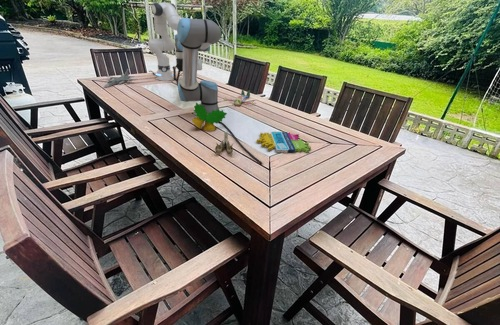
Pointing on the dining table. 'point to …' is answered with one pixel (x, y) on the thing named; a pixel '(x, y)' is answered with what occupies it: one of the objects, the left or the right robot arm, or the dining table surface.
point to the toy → (241, 99)
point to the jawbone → (224, 145)
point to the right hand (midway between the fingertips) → (183, 90)
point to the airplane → (119, 79)
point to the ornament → (207, 117)
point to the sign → (283, 142)
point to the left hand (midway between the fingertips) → (191, 74)
